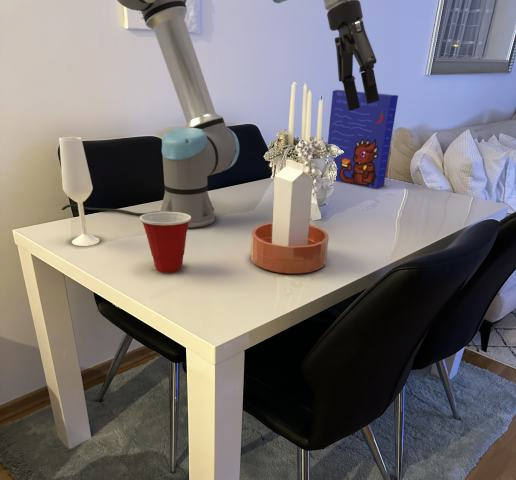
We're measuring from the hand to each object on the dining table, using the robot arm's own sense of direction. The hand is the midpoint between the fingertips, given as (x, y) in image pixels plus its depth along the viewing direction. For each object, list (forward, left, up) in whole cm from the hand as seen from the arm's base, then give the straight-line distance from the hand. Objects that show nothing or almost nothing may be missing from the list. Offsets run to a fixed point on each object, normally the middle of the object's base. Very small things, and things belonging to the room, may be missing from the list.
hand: (363, 106), depth 120 cm
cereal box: (+22, +57, -32) cm, 69 cm away
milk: (-20, -16, -31) cm, 41 cm away
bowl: (-20, -16, -32) cm, 41 cm away
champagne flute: (-68, +1, -32) cm, 75 cm away
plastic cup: (-48, -18, -32) cm, 60 cm away
